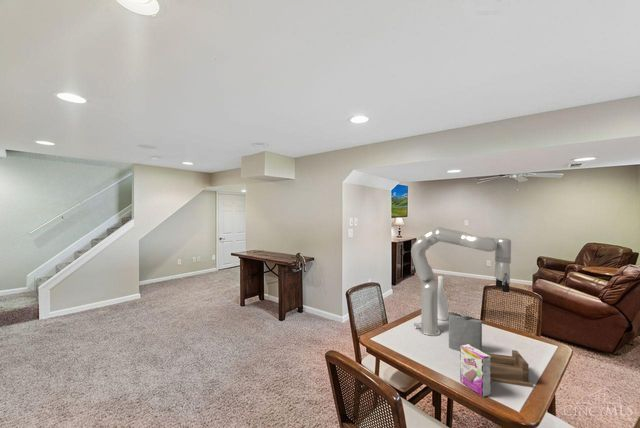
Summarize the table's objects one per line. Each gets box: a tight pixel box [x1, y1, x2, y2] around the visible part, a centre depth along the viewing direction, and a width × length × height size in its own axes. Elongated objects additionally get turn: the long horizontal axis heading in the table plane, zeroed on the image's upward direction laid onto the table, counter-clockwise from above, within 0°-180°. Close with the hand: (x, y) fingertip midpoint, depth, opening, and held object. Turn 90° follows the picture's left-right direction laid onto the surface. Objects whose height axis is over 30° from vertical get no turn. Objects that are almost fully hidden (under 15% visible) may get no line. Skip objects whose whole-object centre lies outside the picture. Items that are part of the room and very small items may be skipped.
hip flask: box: [448, 313, 483, 352], centre depth 145 cm, size 16×4×20 cm, turn 60°
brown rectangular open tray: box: [484, 349, 534, 388], centre depth 125 cm, size 15×24×9 cm, turn 73°
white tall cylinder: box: [437, 275, 449, 321], centre depth 190 cm, size 10×10×30 cm
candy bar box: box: [459, 344, 492, 398], centre depth 114 cm, size 11×5×16 cm, turn 21°
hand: (502, 289), depth 154 cm, fingers open, 9 cm apart
